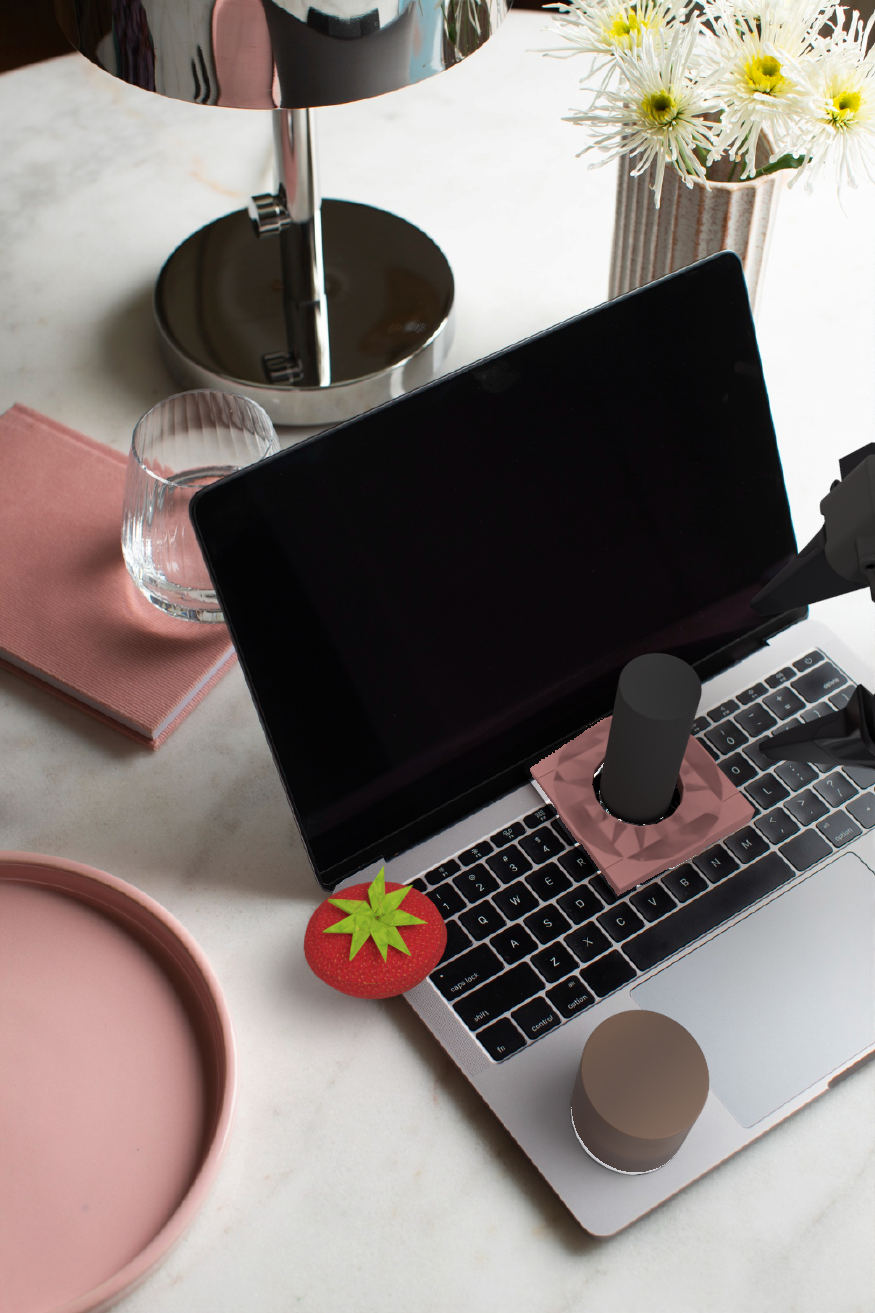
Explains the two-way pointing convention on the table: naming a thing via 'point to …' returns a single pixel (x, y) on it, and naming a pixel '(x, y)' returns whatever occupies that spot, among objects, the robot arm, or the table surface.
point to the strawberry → (375, 939)
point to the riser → (638, 1090)
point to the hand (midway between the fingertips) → (758, 677)
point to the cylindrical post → (648, 736)
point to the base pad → (631, 848)
